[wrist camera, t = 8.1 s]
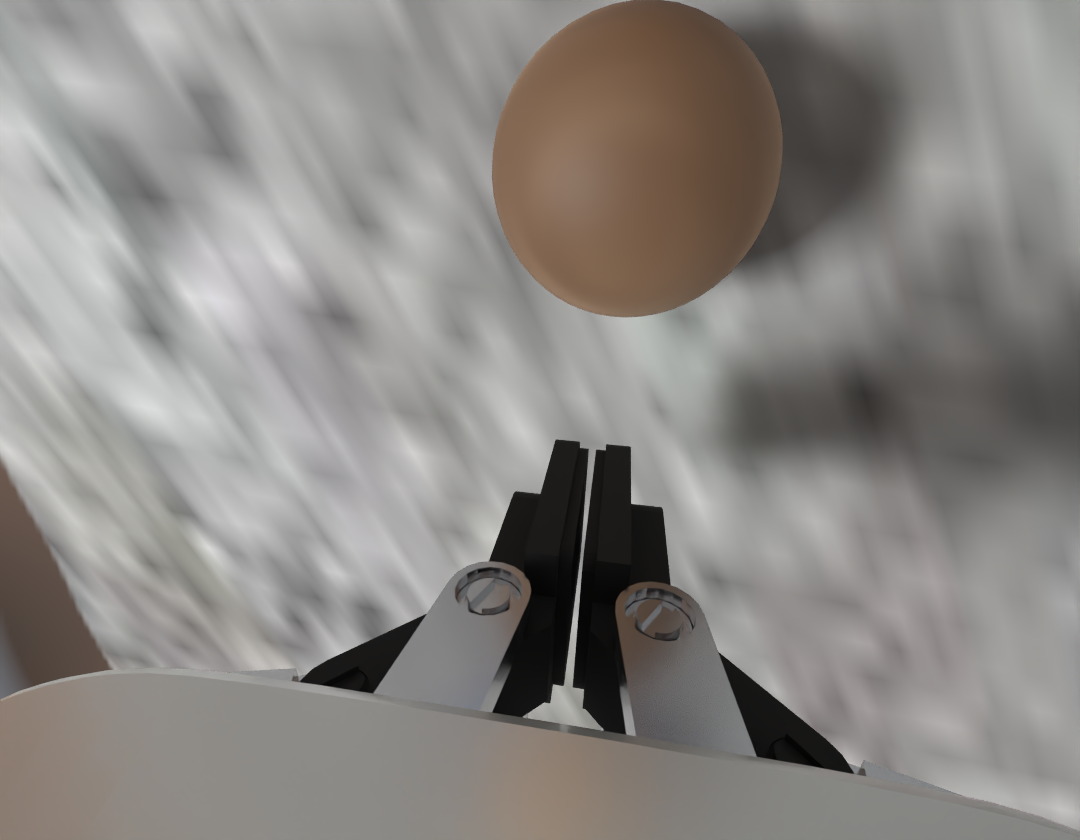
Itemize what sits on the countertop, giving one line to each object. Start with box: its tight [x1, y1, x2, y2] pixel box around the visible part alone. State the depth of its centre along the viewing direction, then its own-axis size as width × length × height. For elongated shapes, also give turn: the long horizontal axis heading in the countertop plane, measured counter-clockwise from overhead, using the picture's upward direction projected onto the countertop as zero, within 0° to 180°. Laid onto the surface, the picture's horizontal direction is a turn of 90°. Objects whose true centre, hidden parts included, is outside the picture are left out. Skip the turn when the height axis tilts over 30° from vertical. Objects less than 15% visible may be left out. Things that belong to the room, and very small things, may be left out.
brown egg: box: [492, 0, 783, 317], centre depth 10 cm, size 6×6×6 cm
